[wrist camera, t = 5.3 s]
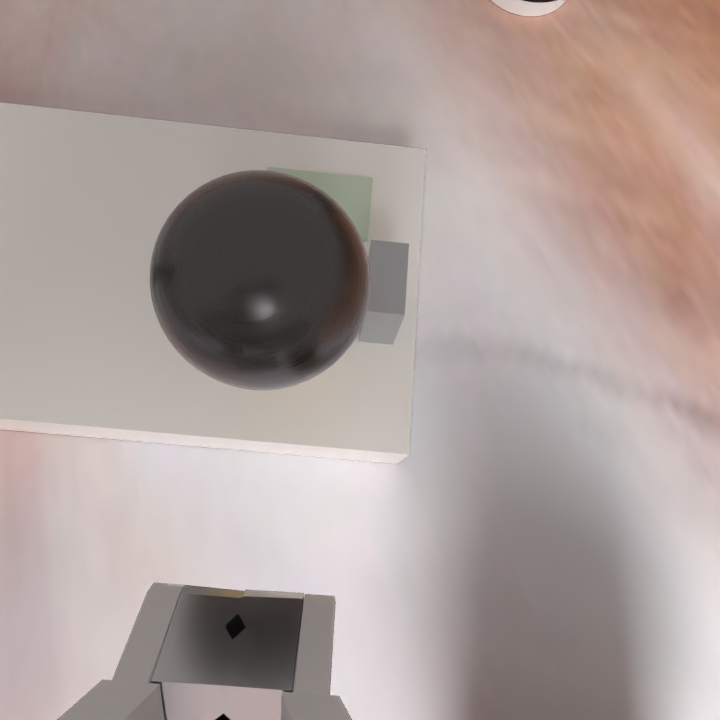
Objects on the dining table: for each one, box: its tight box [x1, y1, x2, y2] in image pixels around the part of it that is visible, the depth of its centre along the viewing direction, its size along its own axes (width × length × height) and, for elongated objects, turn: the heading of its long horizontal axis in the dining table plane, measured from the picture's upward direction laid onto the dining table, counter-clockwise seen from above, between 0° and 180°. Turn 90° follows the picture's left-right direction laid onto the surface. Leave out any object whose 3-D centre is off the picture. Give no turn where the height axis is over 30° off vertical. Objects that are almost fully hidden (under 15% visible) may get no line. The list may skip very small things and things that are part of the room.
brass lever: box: [150, 170, 371, 390], centre depth 14 cm, size 3×3×12 cm
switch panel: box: [0, 102, 426, 464], centre depth 21 cm, size 12×24×6 cm, turn 85°
